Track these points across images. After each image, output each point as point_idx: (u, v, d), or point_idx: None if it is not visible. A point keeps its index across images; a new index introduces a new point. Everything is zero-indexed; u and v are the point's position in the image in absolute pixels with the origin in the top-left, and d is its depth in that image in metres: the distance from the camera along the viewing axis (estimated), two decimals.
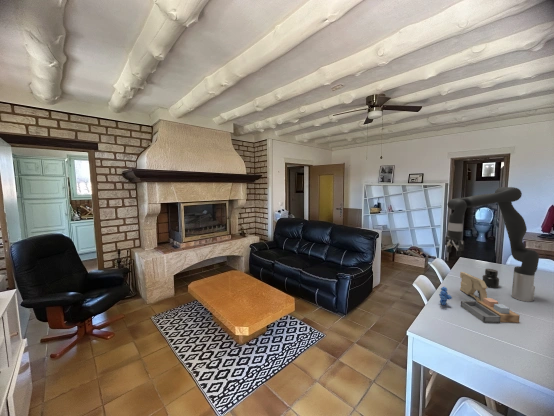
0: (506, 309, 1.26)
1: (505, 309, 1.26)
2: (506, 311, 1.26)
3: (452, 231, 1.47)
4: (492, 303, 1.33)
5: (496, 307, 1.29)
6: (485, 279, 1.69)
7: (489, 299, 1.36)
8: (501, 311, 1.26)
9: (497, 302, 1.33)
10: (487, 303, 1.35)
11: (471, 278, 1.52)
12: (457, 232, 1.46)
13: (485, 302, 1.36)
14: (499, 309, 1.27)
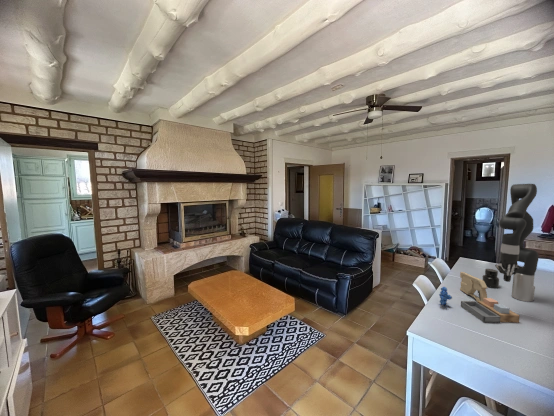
0: (506, 309, 1.26)
1: (505, 309, 1.26)
2: (506, 311, 1.26)
3: (518, 254, 1.29)
4: (492, 303, 1.33)
5: (496, 307, 1.29)
6: (485, 279, 1.69)
7: (489, 299, 1.36)
8: (501, 311, 1.26)
9: (497, 302, 1.33)
10: (487, 303, 1.35)
11: (471, 278, 1.52)
12: None
13: (485, 302, 1.36)
14: (499, 309, 1.27)
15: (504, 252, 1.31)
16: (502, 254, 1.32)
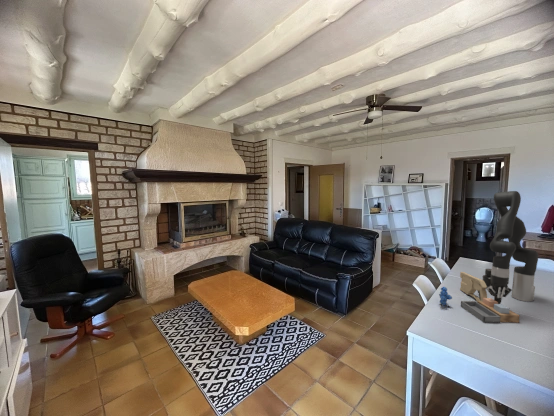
0: (506, 309, 1.26)
1: (505, 309, 1.26)
2: (506, 311, 1.26)
3: (508, 277, 1.30)
4: (491, 303, 1.33)
5: (496, 307, 1.29)
6: (485, 279, 1.69)
7: (488, 299, 1.36)
8: (501, 311, 1.26)
9: (496, 302, 1.33)
10: (486, 303, 1.35)
11: (471, 278, 1.52)
12: None
13: (484, 302, 1.36)
14: (499, 309, 1.27)
15: (494, 275, 1.33)
16: (493, 276, 1.34)
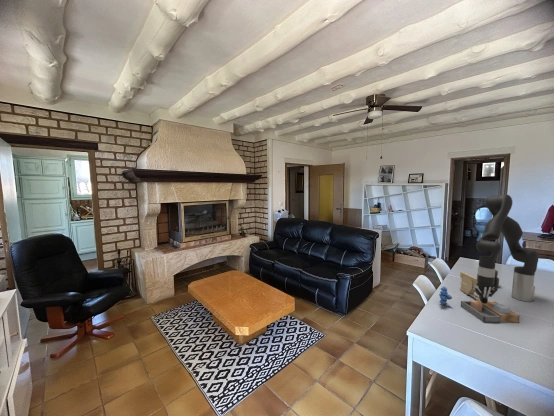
0: (506, 309, 1.26)
1: (505, 309, 1.26)
2: (506, 311, 1.26)
3: (494, 277, 1.31)
4: (478, 309, 1.34)
5: (496, 307, 1.29)
6: None
7: (472, 305, 1.37)
8: (501, 311, 1.26)
9: (477, 305, 1.34)
10: None
11: (471, 278, 1.52)
12: None
13: None
14: (499, 309, 1.27)
15: (480, 275, 1.33)
16: (479, 276, 1.34)
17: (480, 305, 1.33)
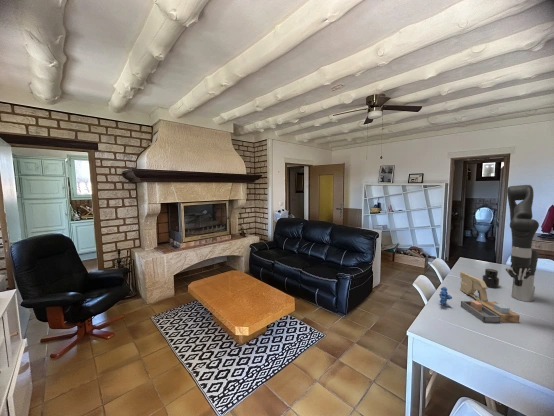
0: (506, 309, 1.26)
1: (505, 309, 1.26)
2: (506, 311, 1.26)
3: (530, 258, 1.22)
4: (478, 309, 1.34)
5: (496, 307, 1.29)
6: (485, 279, 1.69)
7: (472, 305, 1.37)
8: (501, 311, 1.26)
9: (477, 305, 1.34)
10: None
11: (471, 278, 1.52)
12: None
13: None
14: (499, 309, 1.27)
15: (515, 255, 1.25)
16: (513, 257, 1.26)
17: (480, 305, 1.33)
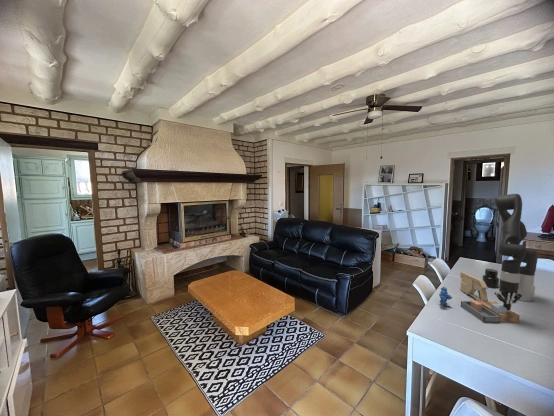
0: (503, 309, 1.26)
1: (502, 309, 1.26)
2: (503, 311, 1.26)
3: (518, 283, 1.23)
4: (478, 309, 1.34)
5: (493, 307, 1.29)
6: (485, 279, 1.69)
7: (472, 305, 1.37)
8: (498, 311, 1.26)
9: (477, 305, 1.34)
10: None
11: (471, 278, 1.52)
12: None
13: None
14: (496, 309, 1.27)
15: (504, 280, 1.26)
16: (502, 281, 1.27)
17: (480, 305, 1.33)
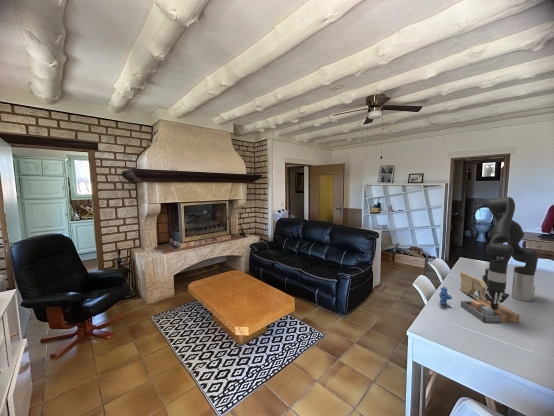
0: (489, 313, 1.27)
1: (489, 314, 1.27)
2: (491, 313, 1.27)
3: (505, 282, 1.24)
4: (478, 309, 1.34)
5: None
6: (485, 279, 1.69)
7: (472, 305, 1.37)
8: None
9: (477, 305, 1.34)
10: None
11: (471, 278, 1.52)
12: None
13: None
14: None
15: (491, 279, 1.26)
16: (489, 281, 1.27)
17: (480, 305, 1.33)
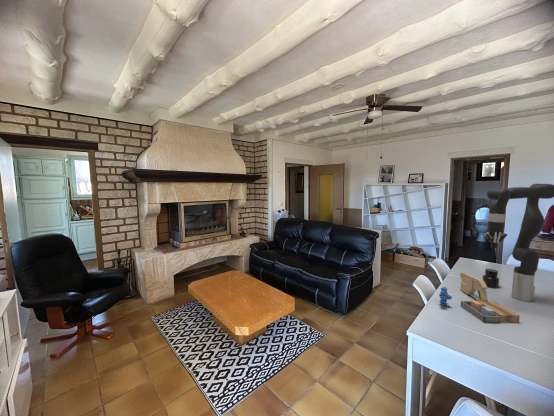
0: (489, 313, 1.27)
1: (489, 314, 1.27)
2: (491, 313, 1.27)
3: (504, 222, 1.39)
4: (478, 309, 1.34)
5: None
6: (485, 279, 1.69)
7: (472, 305, 1.37)
8: None
9: (477, 305, 1.34)
10: None
11: (471, 278, 1.52)
12: None
13: None
14: None
15: (491, 221, 1.41)
16: (489, 223, 1.42)
17: (480, 305, 1.33)
